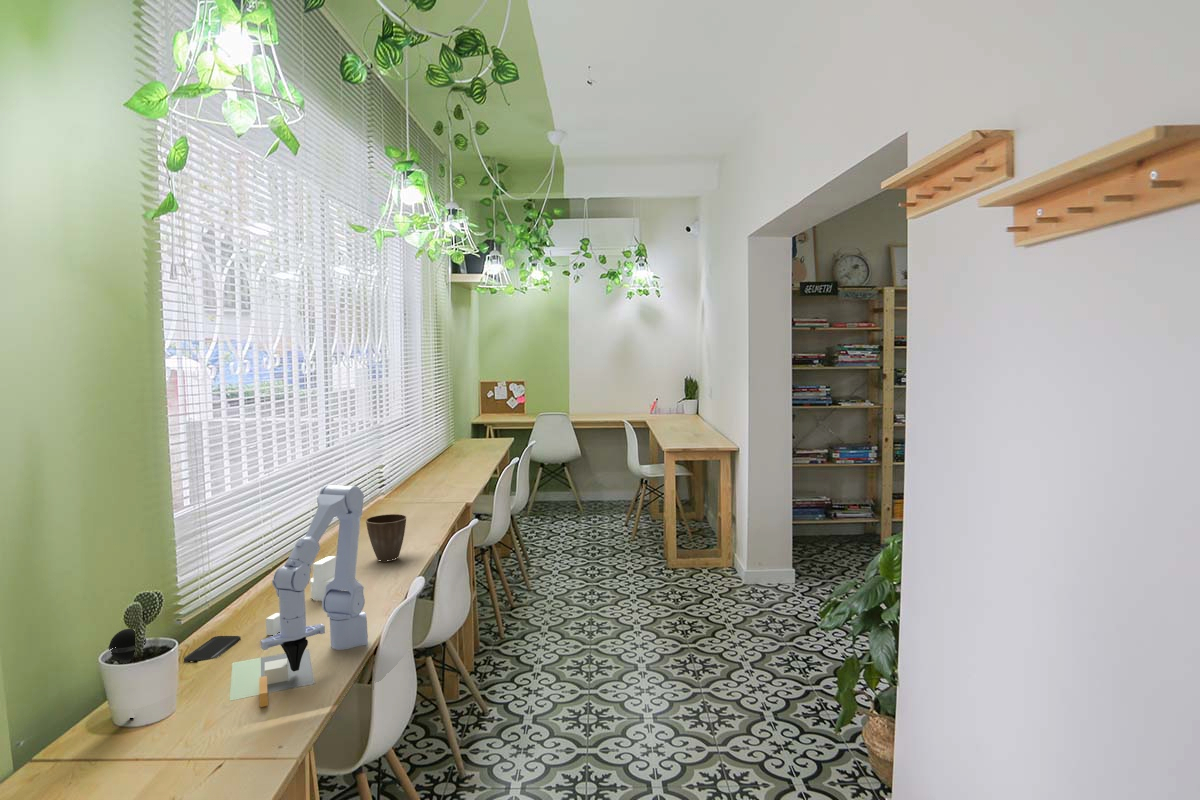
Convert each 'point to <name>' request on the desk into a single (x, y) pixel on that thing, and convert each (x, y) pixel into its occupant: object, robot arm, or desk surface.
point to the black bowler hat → (123, 645)
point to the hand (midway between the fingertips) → (294, 669)
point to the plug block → (276, 671)
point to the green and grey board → (251, 670)
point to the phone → (212, 648)
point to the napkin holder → (273, 624)
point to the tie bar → (263, 691)
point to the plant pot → (386, 535)
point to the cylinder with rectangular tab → (322, 576)
